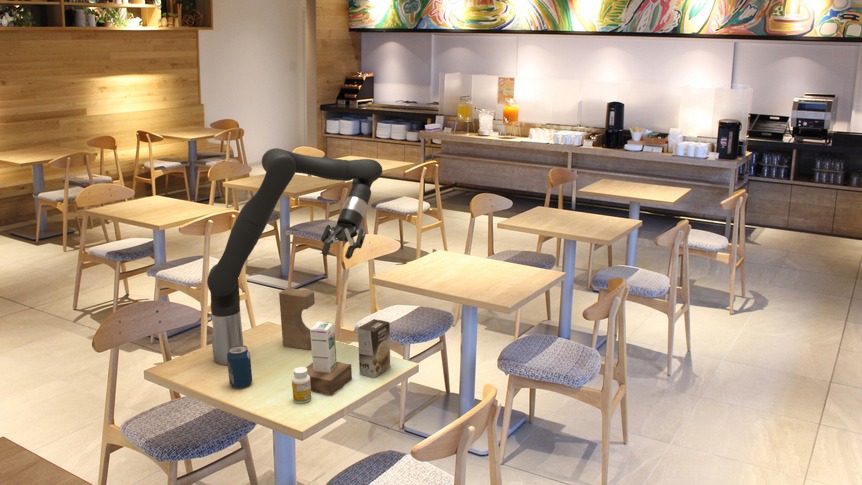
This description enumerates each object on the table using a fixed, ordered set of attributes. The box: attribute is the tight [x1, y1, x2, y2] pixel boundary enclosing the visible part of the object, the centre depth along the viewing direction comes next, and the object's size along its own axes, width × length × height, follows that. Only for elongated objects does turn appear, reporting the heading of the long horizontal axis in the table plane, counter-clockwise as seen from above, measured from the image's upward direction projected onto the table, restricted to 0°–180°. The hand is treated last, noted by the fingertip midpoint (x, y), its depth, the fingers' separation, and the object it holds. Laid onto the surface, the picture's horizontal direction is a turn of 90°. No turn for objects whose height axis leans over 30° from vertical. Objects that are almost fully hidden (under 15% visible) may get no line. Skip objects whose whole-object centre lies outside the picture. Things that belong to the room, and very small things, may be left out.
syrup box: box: [309, 321, 338, 373], centre depth 223 cm, size 6×6×14 cm
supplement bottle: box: [291, 366, 312, 404], centre depth 215 cm, size 5×5×10 cm
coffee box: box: [357, 318, 391, 379], centre depth 232 cm, size 9×6×16 cm
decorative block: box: [278, 287, 316, 351], centre depth 251 cm, size 11×6×20 cm, turn 68°
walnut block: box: [305, 361, 353, 397], centre depth 225 cm, size 12×12×5 cm
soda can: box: [227, 345, 253, 389], centre depth 224 cm, size 7×7×12 cm
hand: (335, 256), depth 231 cm, fingers open, 8 cm apart
